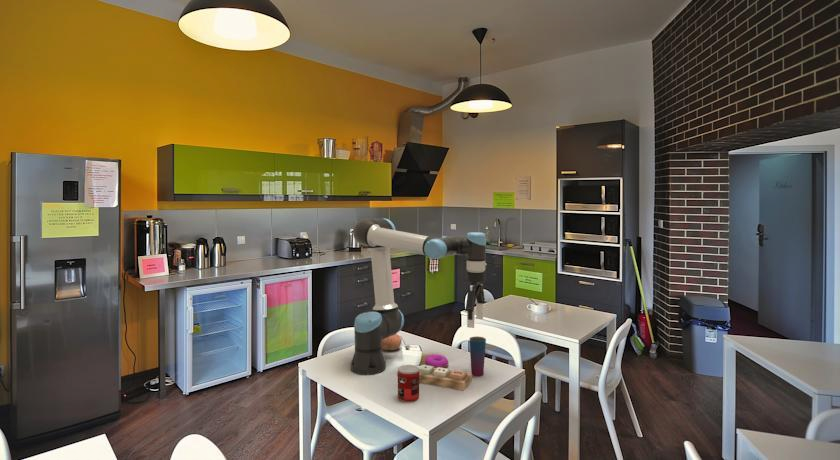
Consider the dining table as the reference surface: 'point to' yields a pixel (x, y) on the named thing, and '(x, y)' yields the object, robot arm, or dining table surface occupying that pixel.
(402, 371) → the canned food
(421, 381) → the panel
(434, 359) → the donut
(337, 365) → the dining table surface
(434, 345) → the dining table surface
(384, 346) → the orange pumpkin
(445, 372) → the button
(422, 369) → the button
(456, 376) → the button
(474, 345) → the cup
